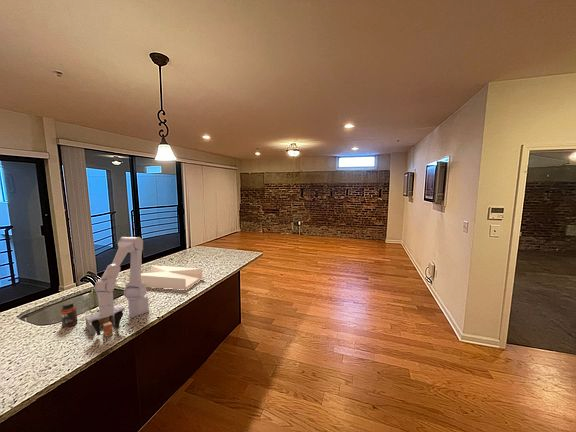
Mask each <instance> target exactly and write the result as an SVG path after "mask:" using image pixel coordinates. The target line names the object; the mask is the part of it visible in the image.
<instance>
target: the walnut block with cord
mask: <svg viewBox="0 0 576 432" xmlns="http://www.w3.org/2000/svg"><path fill="white" fill-rule="evenodd" d="M98 321H99V322H100V329H101V328H103V329H102V330H103V335H104V337H107V336H110V335H113V334H114V332H113V322H112V321H110V320H109V316H108V317H105V318H102V319H99V320H98Z"/></svg>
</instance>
